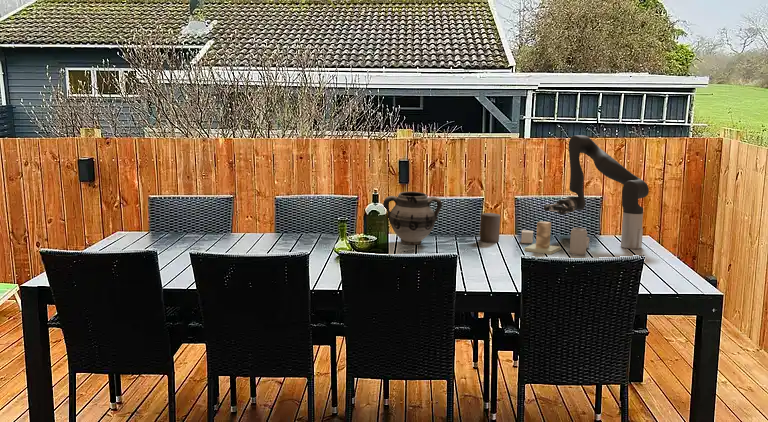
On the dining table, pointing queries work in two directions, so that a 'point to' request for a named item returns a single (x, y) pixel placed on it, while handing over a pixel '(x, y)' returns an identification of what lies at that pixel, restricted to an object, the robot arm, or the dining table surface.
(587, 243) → the steel puck
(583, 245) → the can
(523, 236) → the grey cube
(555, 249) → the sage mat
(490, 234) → the pillar candle
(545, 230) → the oak block
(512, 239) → the dining table surface
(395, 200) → the ceramic pot
